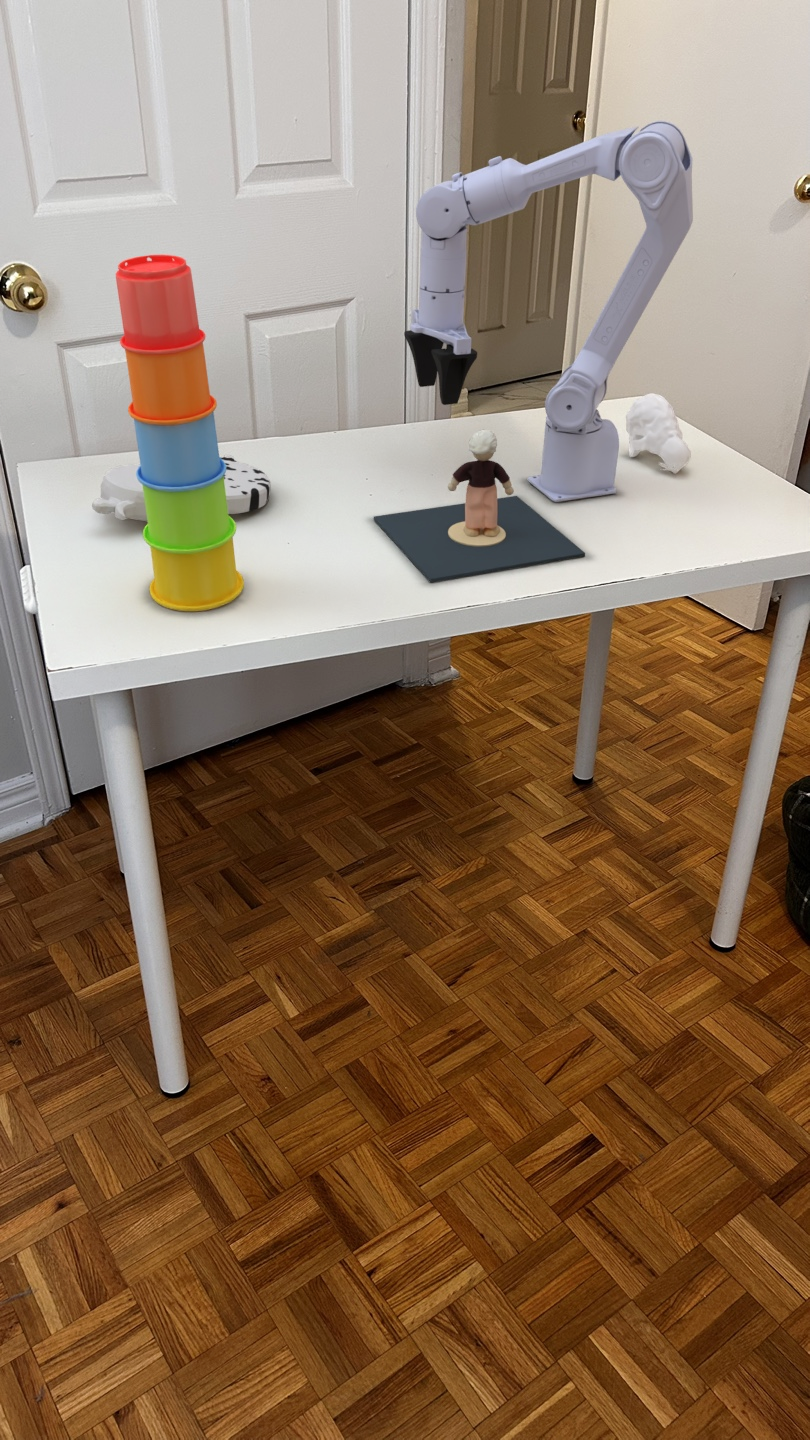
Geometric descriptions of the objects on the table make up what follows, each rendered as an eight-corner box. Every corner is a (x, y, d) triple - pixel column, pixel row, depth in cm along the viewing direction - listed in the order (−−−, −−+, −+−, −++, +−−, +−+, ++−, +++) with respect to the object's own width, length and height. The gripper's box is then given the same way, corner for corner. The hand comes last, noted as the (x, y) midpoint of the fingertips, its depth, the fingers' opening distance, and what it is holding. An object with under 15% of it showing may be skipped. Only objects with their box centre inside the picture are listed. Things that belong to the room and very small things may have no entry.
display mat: (516, 499, 147) (516, 494, 147) (585, 556, 133) (585, 551, 133) (373, 520, 141) (373, 514, 140) (430, 582, 127) (430, 577, 127)
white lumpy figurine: (665, 386, 159) (712, 422, 151) (653, 442, 165) (698, 479, 156) (626, 390, 157) (672, 427, 149) (615, 447, 163) (659, 485, 154)
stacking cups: (242, 612, 120) (219, 272, 101) (145, 613, 120) (103, 271, 100) (245, 568, 129) (225, 247, 109) (155, 569, 128) (118, 246, 108)
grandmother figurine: (504, 523, 139) (512, 423, 132) (511, 537, 136) (520, 435, 129) (443, 526, 138) (447, 426, 131) (449, 540, 135) (454, 437, 128)
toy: (95, 477, 149) (91, 534, 132) (95, 442, 146) (91, 495, 130) (260, 489, 154) (277, 544, 137) (263, 455, 152) (280, 508, 135)
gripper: (391, 276, 146) (389, 380, 153) (436, 304, 135) (431, 415, 142) (441, 272, 148) (437, 375, 156) (489, 299, 137) (482, 409, 145)
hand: (437, 394), depth 149 cm, fingers open, 7 cm apart
